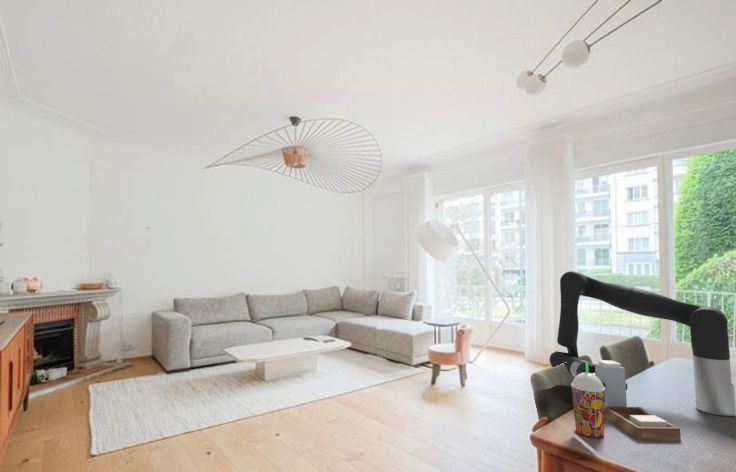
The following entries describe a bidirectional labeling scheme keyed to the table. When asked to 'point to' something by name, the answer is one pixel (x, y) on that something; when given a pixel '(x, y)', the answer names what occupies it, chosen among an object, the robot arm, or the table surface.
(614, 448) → the table surface
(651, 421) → the off-white rectangular block
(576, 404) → the smoothie
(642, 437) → the crate
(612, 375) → the carton
